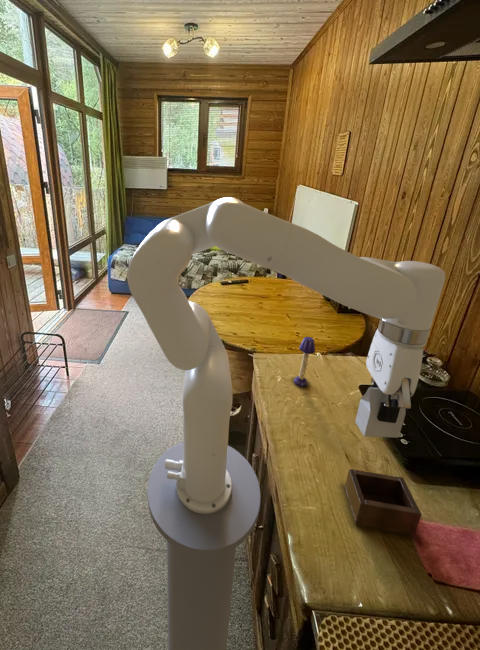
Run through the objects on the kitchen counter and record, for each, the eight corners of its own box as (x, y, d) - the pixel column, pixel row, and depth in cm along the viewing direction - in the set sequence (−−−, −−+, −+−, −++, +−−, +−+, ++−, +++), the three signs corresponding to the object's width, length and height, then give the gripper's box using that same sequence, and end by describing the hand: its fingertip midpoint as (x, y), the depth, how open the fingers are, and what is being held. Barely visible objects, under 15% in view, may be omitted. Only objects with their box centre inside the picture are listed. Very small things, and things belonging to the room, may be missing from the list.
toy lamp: (305, 378, 104) (312, 334, 98) (311, 387, 99) (319, 342, 94) (291, 378, 103) (298, 335, 98) (297, 388, 99) (304, 342, 94)
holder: (355, 524, 61) (360, 503, 59) (344, 488, 68) (349, 468, 66) (414, 535, 59) (421, 514, 57) (396, 497, 66) (403, 477, 64)
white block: (398, 437, 61) (410, 396, 58) (364, 436, 61) (374, 394, 58) (387, 423, 64) (398, 383, 61) (355, 421, 64) (364, 382, 61)
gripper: (363, 308, 64) (347, 382, 70) (402, 353, 48) (377, 443, 54) (402, 311, 63) (383, 386, 68) (455, 358, 47) (424, 450, 53)
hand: (381, 410), depth 61 cm, fingers closed on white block, 4 cm apart
